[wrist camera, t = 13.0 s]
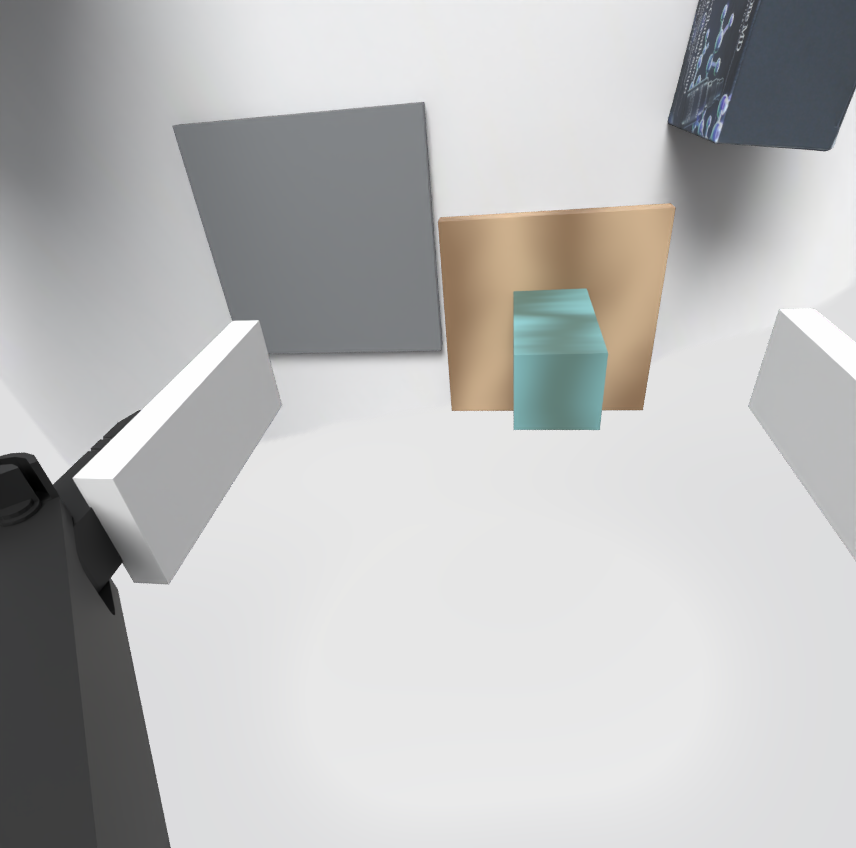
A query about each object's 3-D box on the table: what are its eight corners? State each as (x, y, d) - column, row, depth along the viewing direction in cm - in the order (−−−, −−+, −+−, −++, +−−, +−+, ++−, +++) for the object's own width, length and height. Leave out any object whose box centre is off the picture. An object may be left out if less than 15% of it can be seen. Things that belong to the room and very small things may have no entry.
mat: (247, 349, 48) (242, 354, 48) (179, 124, 38) (172, 125, 38) (442, 345, 46) (441, 350, 45) (423, 101, 36) (421, 102, 35)
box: (703, -32, 30) (780, -70, 22) (807, -29, 30) (929, -66, 21) (663, 125, 35) (714, 146, 26) (753, 130, 34) (835, 153, 26)
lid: (453, 402, 36) (438, 490, 28) (440, 217, 29) (415, 269, 22) (639, 401, 34) (675, 495, 27) (670, 203, 27) (729, 255, 20)
